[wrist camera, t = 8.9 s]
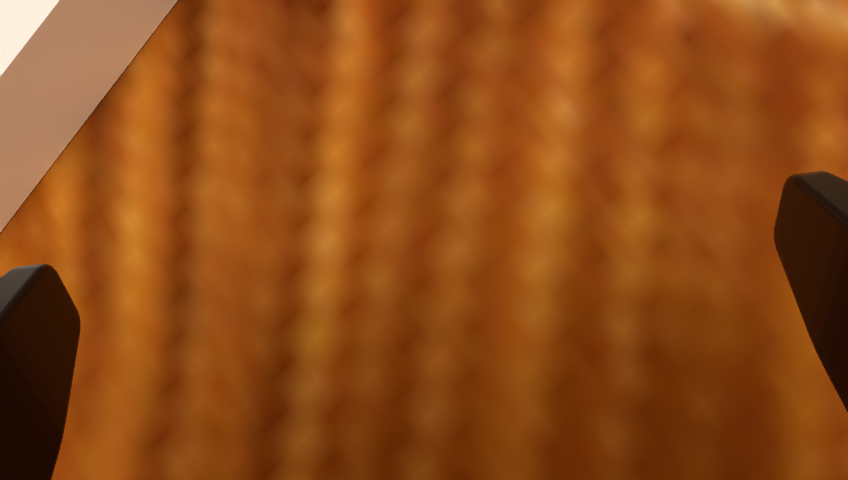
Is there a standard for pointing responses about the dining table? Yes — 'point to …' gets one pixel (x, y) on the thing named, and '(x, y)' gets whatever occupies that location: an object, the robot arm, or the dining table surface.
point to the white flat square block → (59, 77)
